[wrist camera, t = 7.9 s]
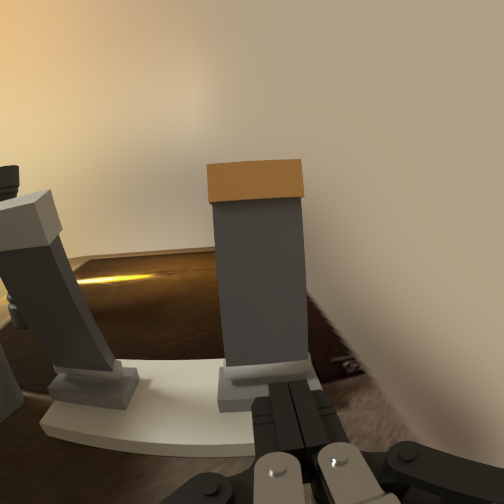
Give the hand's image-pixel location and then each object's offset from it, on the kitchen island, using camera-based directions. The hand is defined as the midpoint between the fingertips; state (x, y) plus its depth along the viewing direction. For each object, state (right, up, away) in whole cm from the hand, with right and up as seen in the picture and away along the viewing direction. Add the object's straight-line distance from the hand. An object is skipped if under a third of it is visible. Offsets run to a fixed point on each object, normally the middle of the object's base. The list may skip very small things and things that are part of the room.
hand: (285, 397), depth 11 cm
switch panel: (-7, -7, +11) cm, 15 cm away
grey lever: (-15, -4, +10) cm, 19 cm away
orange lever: (0, -3, +10) cm, 11 cm away
